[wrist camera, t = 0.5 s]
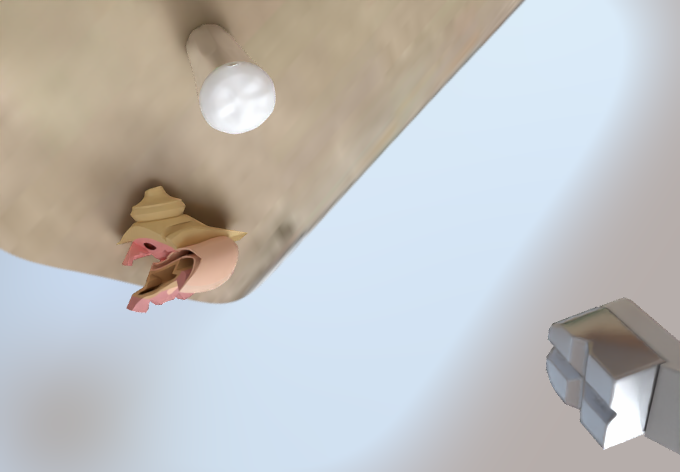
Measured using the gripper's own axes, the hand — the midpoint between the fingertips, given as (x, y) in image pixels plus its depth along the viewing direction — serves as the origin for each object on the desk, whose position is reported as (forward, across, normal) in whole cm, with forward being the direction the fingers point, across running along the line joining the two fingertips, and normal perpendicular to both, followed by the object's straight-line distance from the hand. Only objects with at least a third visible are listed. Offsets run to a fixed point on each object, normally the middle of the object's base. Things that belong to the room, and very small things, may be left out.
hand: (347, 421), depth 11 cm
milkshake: (+37, -3, +4) cm, 38 cm away
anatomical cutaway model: (+39, +3, +19) cm, 43 cm away
